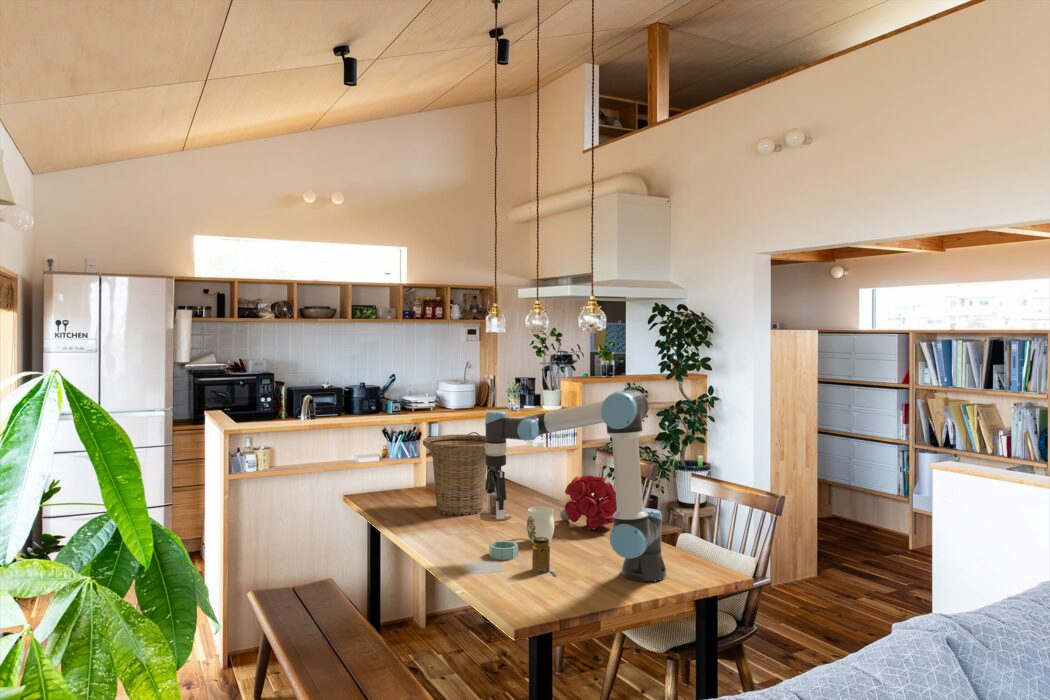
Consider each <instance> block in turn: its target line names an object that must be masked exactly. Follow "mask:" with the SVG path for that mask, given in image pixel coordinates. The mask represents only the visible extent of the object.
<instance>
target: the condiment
mask: <svg viewBox="0 0 1050 700" xmlns="http://www.w3.org/2000/svg"><path fill="white" fill-rule="evenodd" d="M549 544H550V542H549V539H548V538H545V537H537V538H535V539H534V544H533V546H532V562H531V563H532V564H531V566H532V567H531V568H532V569H531V570H532V573H535V574H542V575H543V574H548V573H549V574H551V575H552V576H557V573H556V571H555V569H554V568H550V565H551V563H550V560H551V559H550V557H551V556H550V555H551V553H550V551H551V547H550V545H549Z"/></svg>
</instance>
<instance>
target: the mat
mask: <svg viewBox="0 0 1050 700" xmlns="http://www.w3.org/2000/svg"><path fill="white" fill-rule="evenodd" d="M463 564H464V566H465V567H466V568H467V570H468V572H469V573H470V575H477V574H489V573H501V572H506V571H505V569H504V568H503V566H502V565H501V564H500V563H499V562H498V560H488V561H475V562H464V563H463Z"/></svg>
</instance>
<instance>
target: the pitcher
mask: <svg viewBox="0 0 1050 700" xmlns="http://www.w3.org/2000/svg"><path fill="white" fill-rule="evenodd" d="M554 510H555V509H554V508H552V507H547V506H533V507H529V508H528V509H527V514H526V532H527V536H528V538H529V540H530V542H531V544H533V545H534V539H535V538H537V537H545V538H548V539H549V543H550V542H551V541H552V539H553V535H554V533H555V520H554V512H555V511H554Z"/></svg>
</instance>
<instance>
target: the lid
mask: <svg viewBox="0 0 1050 700" xmlns="http://www.w3.org/2000/svg"><path fill="white" fill-rule="evenodd" d="M496 499H497V494H495V495H490V510H488V511H487V510H482V511H480V512H479V517H480V520H482V521H485V522H492V523H496V522H506V521H509V520H510V519H511V518H512V516H511V512H510V511H507V510H504V519H496V501H495V500H496Z"/></svg>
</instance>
